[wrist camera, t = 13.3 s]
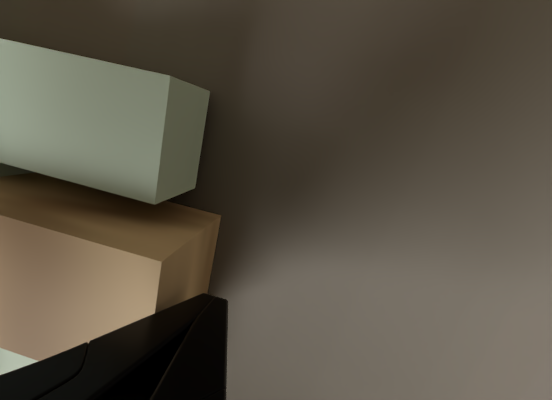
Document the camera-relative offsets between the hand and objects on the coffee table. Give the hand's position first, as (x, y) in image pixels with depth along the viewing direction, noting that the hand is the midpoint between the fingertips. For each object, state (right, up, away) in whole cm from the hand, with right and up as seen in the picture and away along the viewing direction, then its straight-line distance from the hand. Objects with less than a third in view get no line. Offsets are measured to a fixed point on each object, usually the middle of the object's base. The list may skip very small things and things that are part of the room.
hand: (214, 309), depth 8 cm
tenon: (-4, +2, +3) cm, 5 cm away
